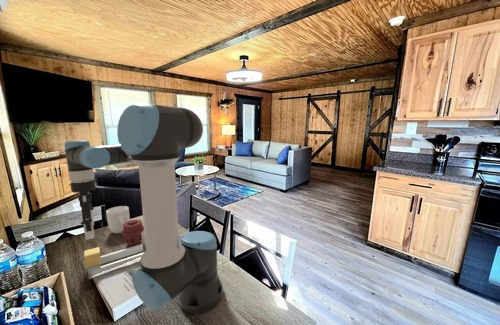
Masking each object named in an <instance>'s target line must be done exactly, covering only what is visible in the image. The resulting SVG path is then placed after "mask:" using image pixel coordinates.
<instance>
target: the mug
mask: <svg viewBox="0 0 500 325" xmlns="http://www.w3.org/2000/svg"><path fill="white" fill-rule="evenodd" d="M105 212H106V213H105V214H106V221H107V225H108V227H109V230H110V231H111V232H112V233H113V234H122V230H123V224H124V223H126V222H128V221H130V220H131V219H130V218H131V217H130V209H129V206H127V205H125V206H124V205H122V206H121V205H119V206H114V207H110V208H108V209H107V210H106V211H105Z"/></svg>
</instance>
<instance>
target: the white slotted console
mask: <svg viewBox="0 0 500 325" xmlns="http://www.w3.org/2000/svg"><path fill="white" fill-rule="evenodd" d="M144 252H145V251H144V245H143V243H141V244H139V245H132V246H129V247H127V248H124V249H120V250H117V251H114V252H110V253H107V254H103V255H100V256H101V264H98V265H94V266H91V267H88V268H87V274H88V280H91V279H93V278H92V276H94V275H96V274H98V273H101V272H103V271H106V270H109V269H111V268H114V267H116V266H119V265H122V264H124V263H127V262H129V261H132V260H134V259H136V258H139V257H141V256H142V254H143V253H144ZM125 257H126V258H125ZM116 260H117V261H116Z"/></svg>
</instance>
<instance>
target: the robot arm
mask: <svg viewBox="0 0 500 325" xmlns="http://www.w3.org/2000/svg"><path fill="white" fill-rule="evenodd" d="M116 131H117V141H118V143H119V144H109V145H106V144H105V145H94V146H91V142H90V141H89V140H87V139H86V140H85V139H83V140H68V141H67V140H66V141H65V142H64V153H65V159H66V164H67V170H68V171H67V172H68V179H69V181H70V191H71V193H74V194H75V193H76V194H77V193H79V195H78V196H77V197H78V198H77V199H78V201H79V207H80V208H81V210H80V211H81V216H82V221H80V225H82V226H83V231H84V239H85V241H88V240H92V239H94V238H95V237H96V236H95V229H94V226H95V222H94V214H93V211H94V210H95V208H94V206H92V193H91V191H94V190H95V189H96V188H97V186H96V185H97V184H96V180H95V179H94V178H95V173H96V170H94V169H101V168H104V167H106V166H113V165H118V164H127V163H135V165H137V167H138V174H139V175H138V177H139V184H140V187H139V188H140V196H141V198H140V199H141V207H142V209H141V210H142V217H143V218H142V220H143V222H142V223H143V226H144V231H143V233H144V243H145V251H143V252H144V253H143V252H142V253H143V254H142V256H141V259H140V261H141V262H140V268H139V269H138V270H136V271H135V272H134V273H133V274H132V277H131V281H132V286H133V288H134V291H135V293H136V295H137V297H138V298H139V299H140V300H141V302H142V303H144V305H145V306H146V307H148V308H149V309H151V310H153V311H155V310H156V311H157V310H160V309H162V308H163V307H165V306H166V305H167V304H168V303H171V302H172V301H173V300H174V299H175V298H176V297H177V296H178V302H179V306H180V308H181V309H182V310H183V311H184V312H187V313H189V314H196V315H197V314H203V313H206V312H209V311H211V310H213V309H214V308H215V307H216V306H218V304H219V303H221V300H222V298H223V294H224V293H223V292H224V291H223V290H224V289H223V283H222V281H221V278H220V277H219V274H218V251H217V249H218V244H217V239H216V236H215V235H214V234H213V233H211V232H208V231H204V230H195V231H194V230H193V231H189V232H186V233H184V234H183V235H182V236H181V237H180V236H179V234H180V233H179V217H178V203H177V202H178V200H177V185H176V184H177V183H176V167H175V164H176V163H177V162H178V161H179V160H180V159H181V149H187V148H191V147H193V146H195V145H197V144H198V143H199V142H200V141H201V139H202V137H203V133H204V126H203V122H202V119H201V118H200V117H199V116H198V114H196V113H195V112H194V111H193V110H192V109H191V110H190V109H188V108H185V107H179V106H177V107H176V106H175V107H174V106H169V105H160V104H154V103H153V104H152V103H134V104H130V105H128V106H127V107H126V108H125V109H124V110H123V112H122V114H120V117H119V120H118V123H117V130H116Z"/></svg>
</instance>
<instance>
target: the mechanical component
mask: <svg viewBox="0 0 500 325" xmlns="http://www.w3.org/2000/svg"><path fill="white" fill-rule="evenodd" d="M142 233H144V224H143V222H142V220H141V219H130V221H128V222H126V223H124V224H123V230H122V233H121V235H122V236H123V237H125V243H126V245H127V247H133V246H137V245H140V244H142V239H143V238H142V237H143V236H142Z"/></svg>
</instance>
